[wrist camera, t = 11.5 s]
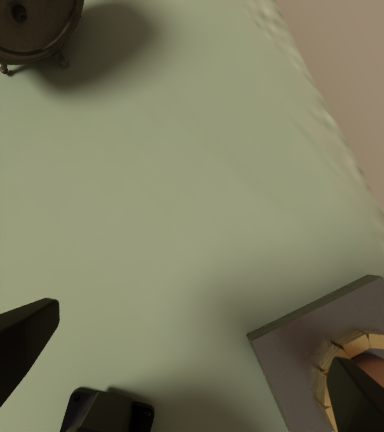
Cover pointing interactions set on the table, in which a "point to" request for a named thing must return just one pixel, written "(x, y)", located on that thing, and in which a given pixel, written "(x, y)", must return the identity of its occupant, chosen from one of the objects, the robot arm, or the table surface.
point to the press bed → (319, 349)
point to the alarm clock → (36, 30)
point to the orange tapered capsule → (372, 367)
